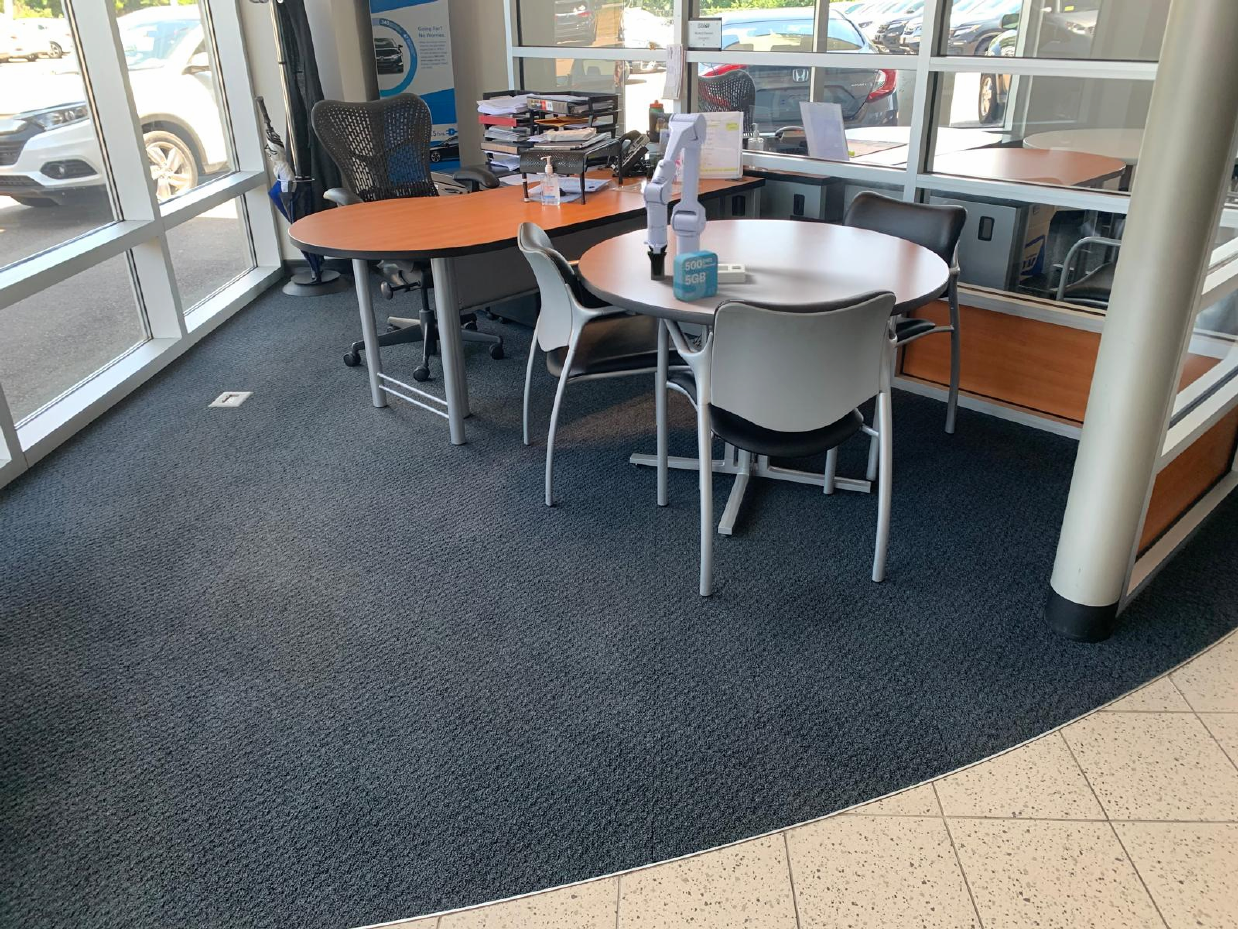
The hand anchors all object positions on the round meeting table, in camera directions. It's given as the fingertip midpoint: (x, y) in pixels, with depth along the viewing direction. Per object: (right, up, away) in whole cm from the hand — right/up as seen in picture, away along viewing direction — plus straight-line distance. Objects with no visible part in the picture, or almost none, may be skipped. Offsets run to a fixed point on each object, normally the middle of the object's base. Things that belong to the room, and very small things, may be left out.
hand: (657, 271), depth 270 cm
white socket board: (+16, -2, -1) cm, 17 cm away
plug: (0, -2, +1) cm, 2 cm away
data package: (+10, -11, -18) cm, 23 cm away
